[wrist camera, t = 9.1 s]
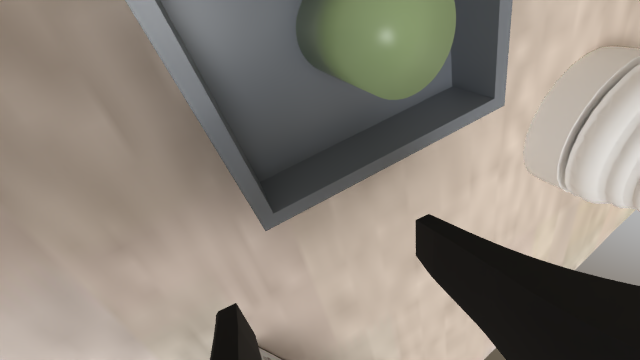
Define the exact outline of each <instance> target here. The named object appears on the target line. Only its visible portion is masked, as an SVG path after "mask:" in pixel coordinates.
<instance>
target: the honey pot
mask: <svg viewBox="0 0 640 360" xmlns="http://www.w3.org/2000/svg"><path fill="white" fill-rule="evenodd" d="M523 157H524V165H525V167H526V169H527V171H528V172H529V173H530V174H532V175H533V176H535V177H537V178H539V179H541V180H543V181H545V182H547V183H549V184H551V185H553V186H555V187H557V188H560V189H562V190H564V191H566V192H570V193H571V194H573V195H574V196H578V197H581V198H582V199H583V200H585V201H587V202H591V203H598V204H605V203H608V204H613V205H614V206H615V207H619V208H632V209H637V210H638V211H639V212H640V48H630V47H619V46H608V47H601V48H598V49H596V50H594V51H592V52H590V53H587V54H586V55H585V56H583V57H582V58H581V59H579V60H578V61H577V62H575V63H574V64H573V65H571V66H570V67H569V69H568V70H567V71H566V72H565V73H564V74H563V75H562V76H561V77H560V78H559V79H558V80H557V81H556V82H555V84H554V85H553V86H552V88H551V89H550V91H549V92H548V93H547V95H546V96H545V97H544V99H543V100H542V102H541V104H540V106H539V108H538V109H537V111H536V113H535V115H534V117H533V119H532V121H531V124H530V127H529V129H528V132H527V135H526V139H525V144H524V150H523Z"/></svg>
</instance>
